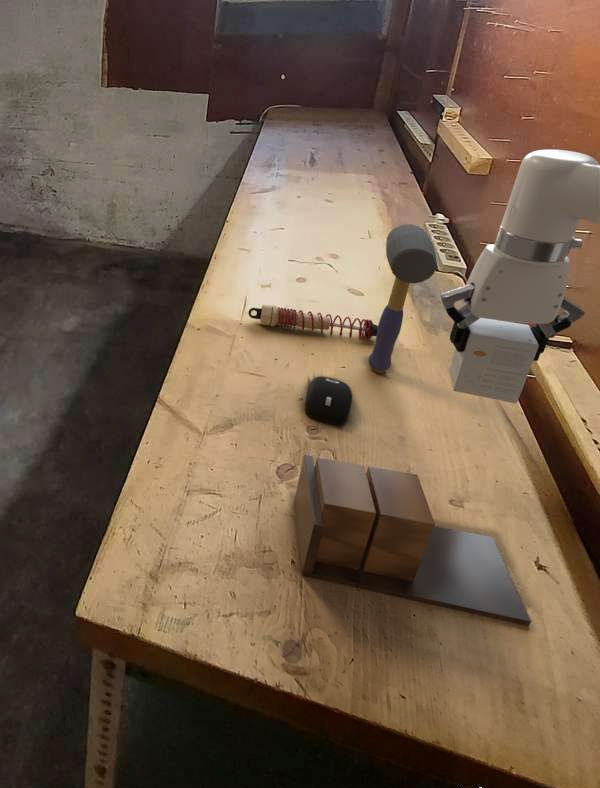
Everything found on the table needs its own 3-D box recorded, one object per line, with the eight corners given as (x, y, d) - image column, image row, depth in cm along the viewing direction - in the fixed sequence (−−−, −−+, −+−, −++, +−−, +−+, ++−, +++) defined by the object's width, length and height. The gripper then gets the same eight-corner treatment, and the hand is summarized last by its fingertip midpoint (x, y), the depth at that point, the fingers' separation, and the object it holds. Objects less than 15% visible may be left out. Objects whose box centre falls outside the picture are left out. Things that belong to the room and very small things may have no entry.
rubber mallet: (401, 392, 107) (445, 251, 93) (357, 383, 110) (394, 244, 96) (396, 356, 117) (434, 224, 104) (356, 348, 120) (388, 218, 106)
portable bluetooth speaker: (352, 390, 108) (356, 373, 106) (346, 430, 99) (351, 412, 97) (310, 378, 111) (314, 362, 109) (301, 416, 102) (304, 399, 100)
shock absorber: (392, 320, 123) (249, 300, 131) (398, 324, 118) (249, 303, 127) (389, 341, 123) (246, 320, 132) (395, 346, 119) (247, 324, 127)
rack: (490, 540, 79) (518, 480, 74) (529, 625, 68) (564, 563, 63) (293, 502, 86) (306, 445, 80) (301, 575, 75) (316, 514, 70)
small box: (508, 382, 86) (530, 324, 81) (517, 405, 81) (541, 345, 77) (447, 370, 89) (464, 313, 84) (451, 391, 85) (471, 333, 80)
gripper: (595, 238, 76) (551, 344, 83) (447, 228, 80) (419, 329, 88) (627, 262, 69) (577, 375, 77) (465, 250, 74) (432, 357, 82)
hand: (492, 350), depth 82 cm, fingers closed on small box, 8 cm apart
